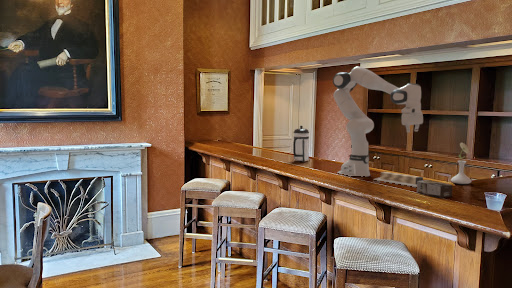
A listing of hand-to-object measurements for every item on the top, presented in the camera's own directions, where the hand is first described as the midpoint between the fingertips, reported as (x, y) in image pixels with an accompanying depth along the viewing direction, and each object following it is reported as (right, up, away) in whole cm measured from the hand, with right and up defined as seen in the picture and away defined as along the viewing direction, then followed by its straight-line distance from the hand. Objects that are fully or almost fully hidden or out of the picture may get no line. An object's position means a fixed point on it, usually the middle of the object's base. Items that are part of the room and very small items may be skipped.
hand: (412, 131), depth 255 cm
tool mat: (-8, -32, -1) cm, 32 cm away
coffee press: (-60, -22, +86) cm, 107 cm away
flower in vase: (+28, -32, -4) cm, 43 cm away
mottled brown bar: (-8, -31, -1) cm, 31 cm away
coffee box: (-4, -31, -25) cm, 40 cm away
